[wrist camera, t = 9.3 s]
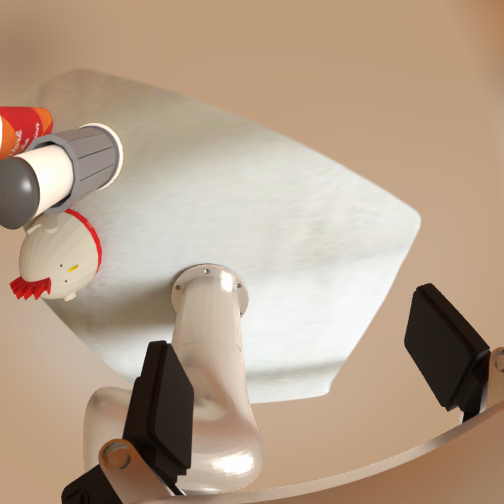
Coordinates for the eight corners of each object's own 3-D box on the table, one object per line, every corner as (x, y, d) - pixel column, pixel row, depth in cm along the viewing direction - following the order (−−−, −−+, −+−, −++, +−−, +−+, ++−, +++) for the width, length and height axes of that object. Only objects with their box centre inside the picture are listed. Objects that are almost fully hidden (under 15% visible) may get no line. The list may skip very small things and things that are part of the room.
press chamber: (126, 186, 38) (91, 215, 27) (69, 193, 37) (25, 222, 26) (121, 118, 34) (80, 121, 23) (62, 129, 33) (12, 140, 22)
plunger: (107, 179, 35) (38, 226, 19) (69, 184, 35) (-6, 231, 19) (103, 133, 32) (25, 152, 17) (65, 141, 32) (-19, 167, 16)
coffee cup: (29, 160, 34) (-33, 186, 21) (15, 117, 30) (-48, 129, 17) (65, 136, 34) (2, 153, 20) (51, 90, 30) (-13, 90, 17)
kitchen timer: (109, 283, 45) (76, 342, 32) (47, 282, 44) (8, 333, 30) (93, 203, 39) (42, 245, 25) (28, 210, 38) (-26, 249, 24)
